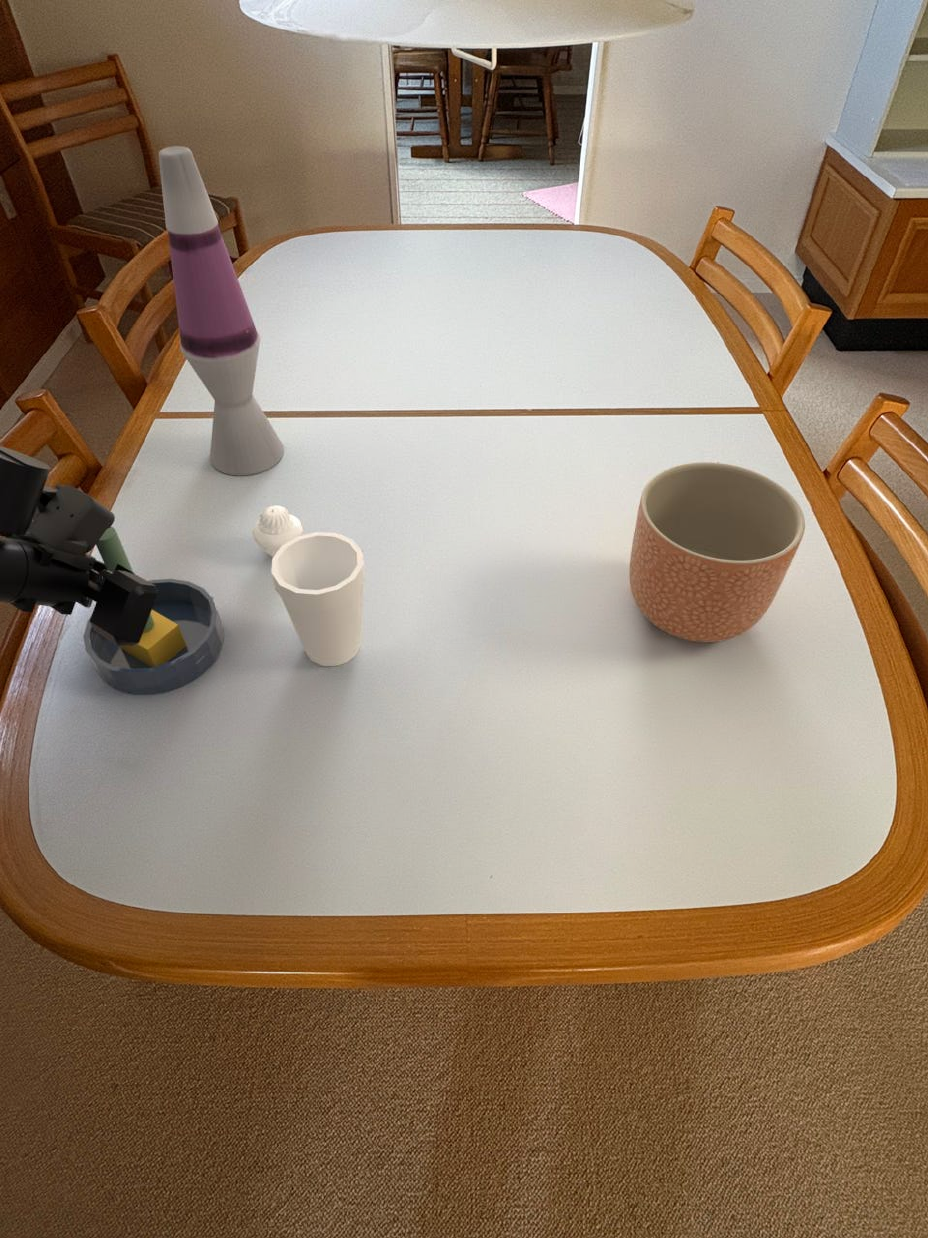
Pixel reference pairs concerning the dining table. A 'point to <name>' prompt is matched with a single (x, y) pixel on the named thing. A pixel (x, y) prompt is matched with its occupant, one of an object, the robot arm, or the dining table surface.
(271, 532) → the white citrus juicer
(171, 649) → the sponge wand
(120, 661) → the bowl
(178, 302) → the lamp
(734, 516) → the planter
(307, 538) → the foam cup
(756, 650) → the dining table surface
